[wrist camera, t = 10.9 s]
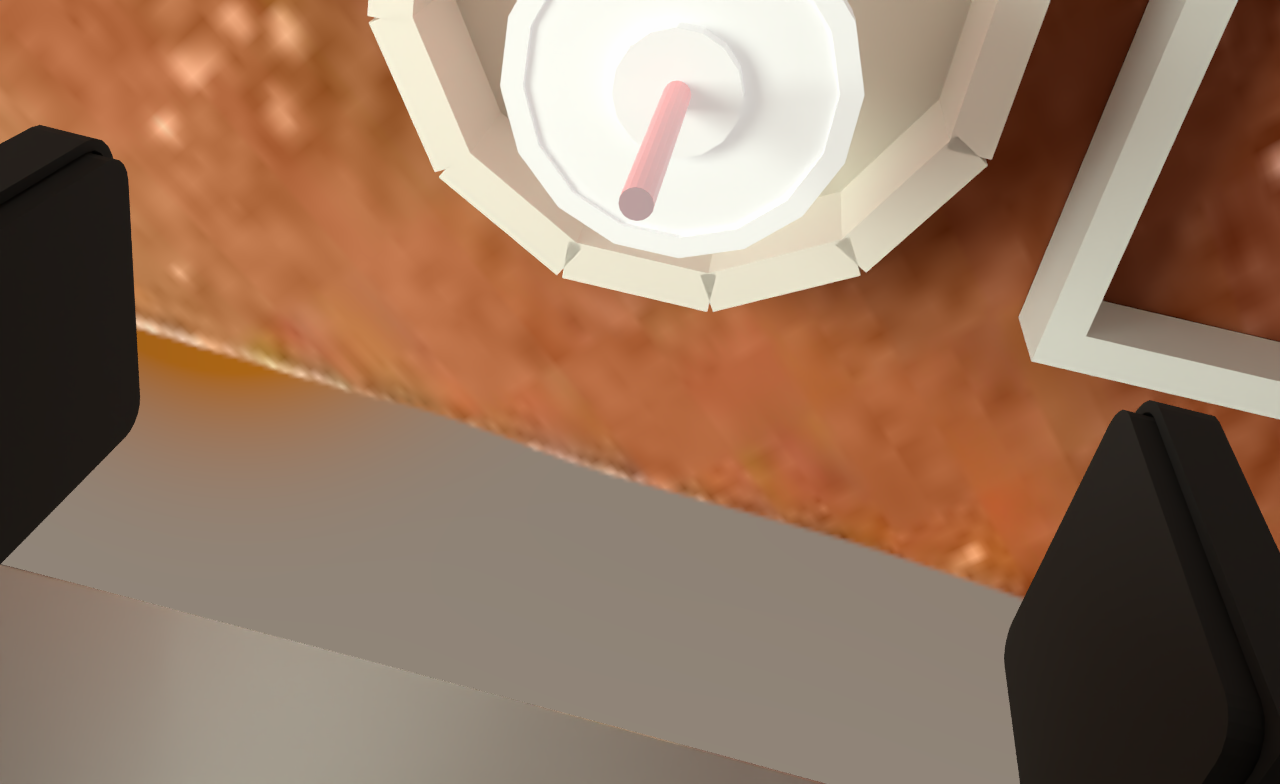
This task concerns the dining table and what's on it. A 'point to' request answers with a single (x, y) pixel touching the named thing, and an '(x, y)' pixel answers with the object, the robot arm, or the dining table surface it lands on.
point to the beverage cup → (683, 113)
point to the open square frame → (1105, 220)
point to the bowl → (797, 253)
